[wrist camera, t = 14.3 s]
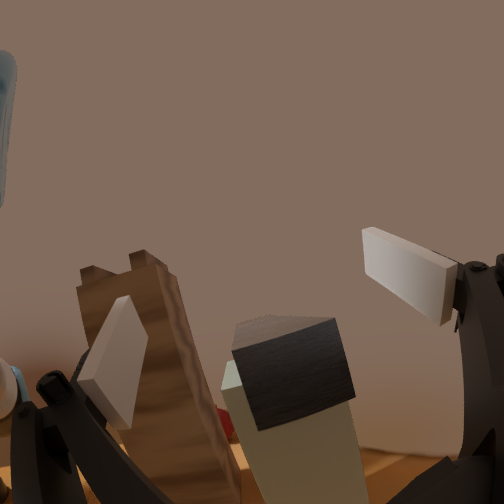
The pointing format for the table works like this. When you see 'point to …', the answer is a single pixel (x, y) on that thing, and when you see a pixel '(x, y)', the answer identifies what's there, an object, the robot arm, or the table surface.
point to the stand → (166, 387)
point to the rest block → (299, 452)
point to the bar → (291, 367)
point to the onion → (225, 421)
